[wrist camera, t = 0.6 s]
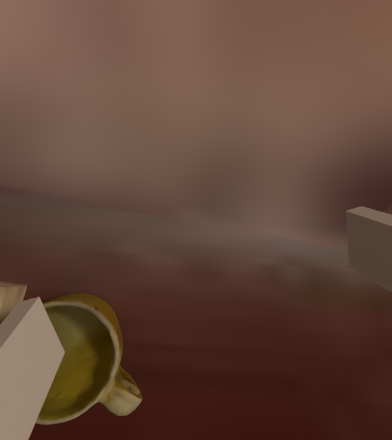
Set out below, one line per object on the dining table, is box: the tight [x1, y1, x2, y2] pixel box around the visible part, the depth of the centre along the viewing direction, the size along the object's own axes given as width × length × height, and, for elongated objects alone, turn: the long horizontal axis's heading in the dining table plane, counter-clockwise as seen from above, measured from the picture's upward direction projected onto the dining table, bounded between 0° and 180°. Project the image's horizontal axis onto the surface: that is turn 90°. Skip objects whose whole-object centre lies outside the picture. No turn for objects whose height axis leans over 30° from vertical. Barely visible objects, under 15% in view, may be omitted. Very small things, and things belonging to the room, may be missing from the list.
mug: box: [35, 293, 142, 425], centre depth 24 cm, size 12×10×10 cm
